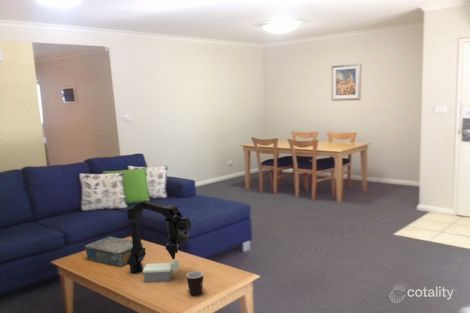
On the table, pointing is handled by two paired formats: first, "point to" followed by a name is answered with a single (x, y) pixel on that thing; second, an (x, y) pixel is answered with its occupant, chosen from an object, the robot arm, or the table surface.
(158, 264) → the cube on cream block
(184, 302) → the table surface
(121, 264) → the metal box
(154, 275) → the tub
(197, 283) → the coffee mug
